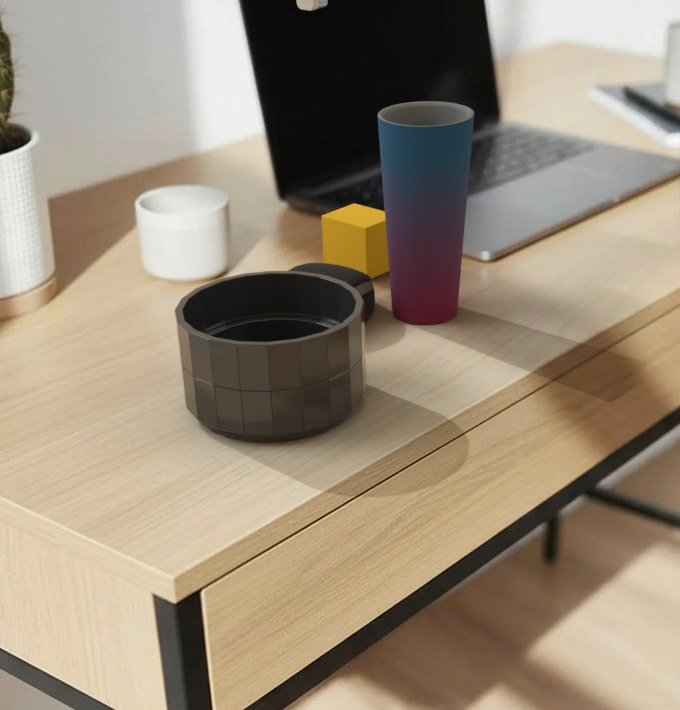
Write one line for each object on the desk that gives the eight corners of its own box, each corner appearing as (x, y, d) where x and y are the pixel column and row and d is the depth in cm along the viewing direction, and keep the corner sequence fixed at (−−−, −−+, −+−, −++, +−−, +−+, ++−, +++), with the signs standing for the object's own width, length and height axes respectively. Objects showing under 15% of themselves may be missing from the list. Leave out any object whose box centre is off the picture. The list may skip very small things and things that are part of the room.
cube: (399, 267, 101) (398, 214, 98) (367, 281, 98) (365, 228, 96) (355, 253, 104) (354, 202, 101) (323, 267, 101) (321, 215, 99)
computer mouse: (231, 345, 89) (226, 294, 86) (318, 288, 97) (315, 241, 95) (311, 364, 85) (309, 311, 83) (394, 303, 94) (393, 254, 92)
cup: (484, 319, 91) (491, 118, 83) (402, 336, 89) (401, 131, 81) (445, 288, 96) (448, 96, 88) (367, 303, 94) (362, 108, 86)
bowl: (402, 396, 81) (401, 299, 77) (274, 466, 73) (266, 362, 70) (277, 349, 88) (271, 257, 84) (149, 408, 81) (136, 311, 77)
